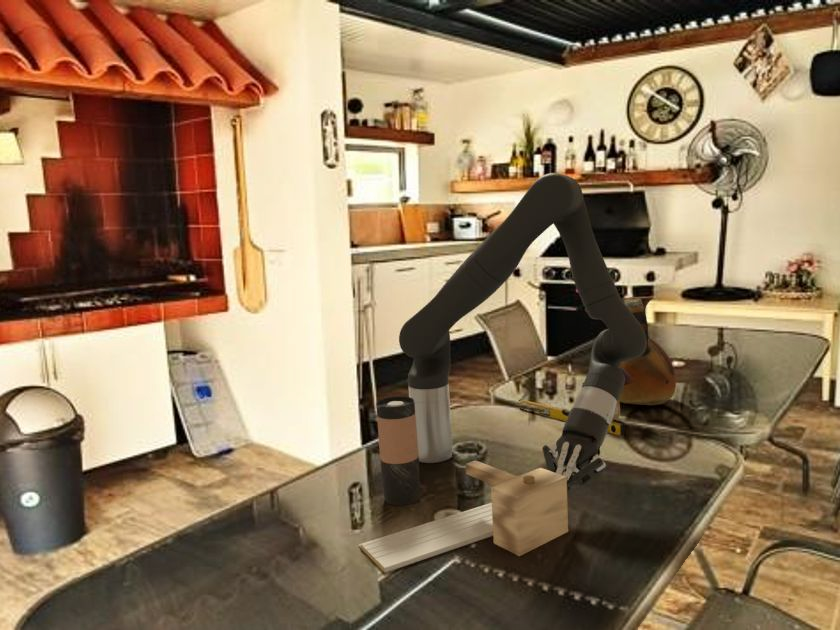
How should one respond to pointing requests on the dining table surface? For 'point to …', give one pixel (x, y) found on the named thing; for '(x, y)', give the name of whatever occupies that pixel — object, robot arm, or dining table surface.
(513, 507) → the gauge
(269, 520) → the dining table surface
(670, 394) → the ceramic pitcher
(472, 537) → the baseboard
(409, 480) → the travel mug
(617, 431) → the spirit level
